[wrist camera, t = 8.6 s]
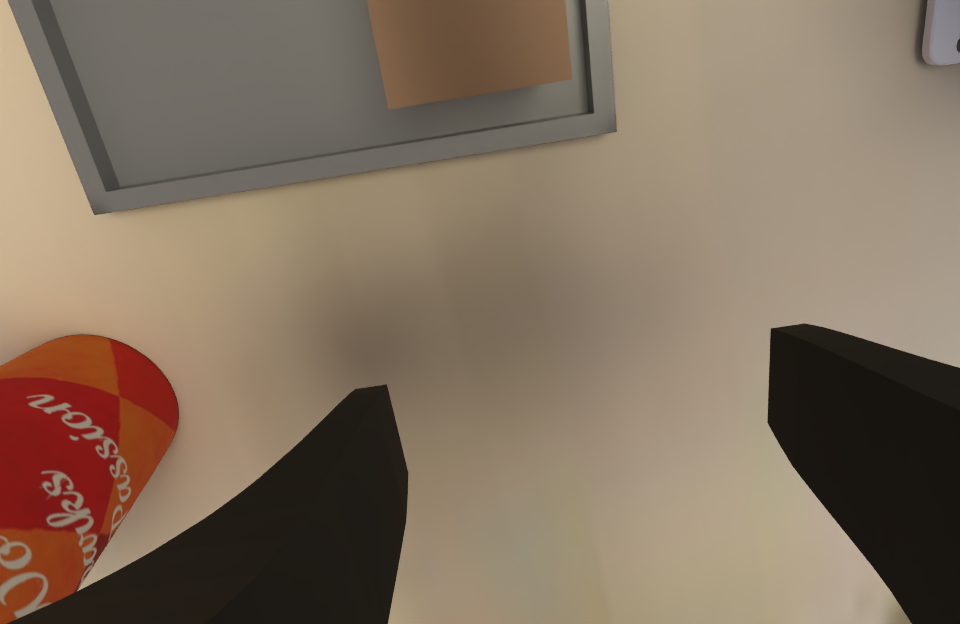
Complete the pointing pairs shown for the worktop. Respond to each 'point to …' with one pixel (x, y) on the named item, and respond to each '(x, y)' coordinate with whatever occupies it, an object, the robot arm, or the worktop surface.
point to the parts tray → (271, 96)
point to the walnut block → (467, 47)
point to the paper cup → (73, 460)
